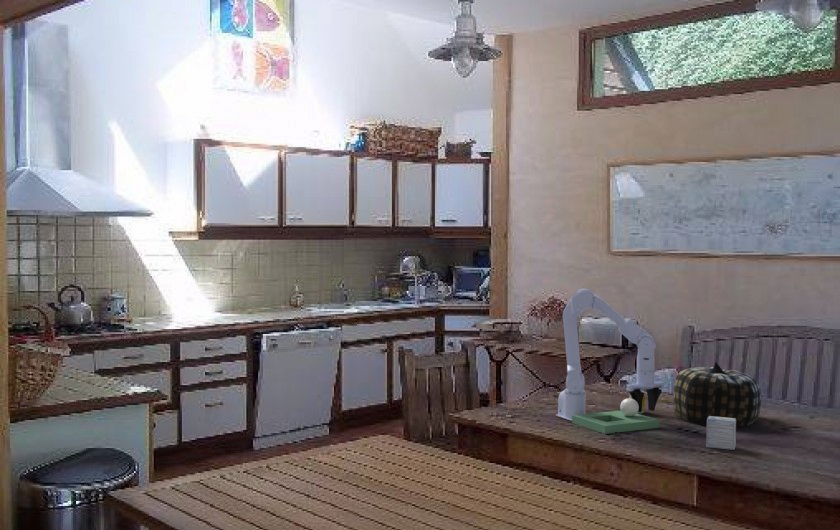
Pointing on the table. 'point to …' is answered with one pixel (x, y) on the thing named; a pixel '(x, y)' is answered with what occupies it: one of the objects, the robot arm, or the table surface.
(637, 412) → the supplement bottle
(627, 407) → the white ball
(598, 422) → the putting board
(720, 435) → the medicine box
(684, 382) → the decorative pumpkin
